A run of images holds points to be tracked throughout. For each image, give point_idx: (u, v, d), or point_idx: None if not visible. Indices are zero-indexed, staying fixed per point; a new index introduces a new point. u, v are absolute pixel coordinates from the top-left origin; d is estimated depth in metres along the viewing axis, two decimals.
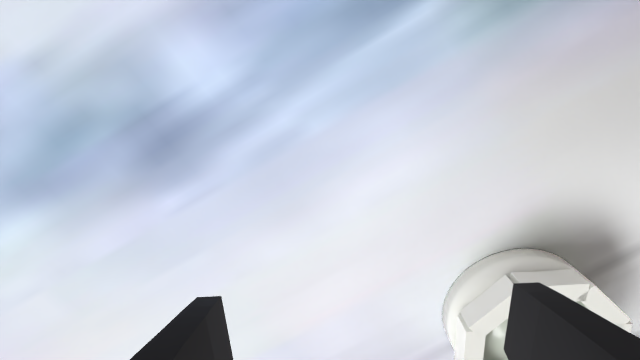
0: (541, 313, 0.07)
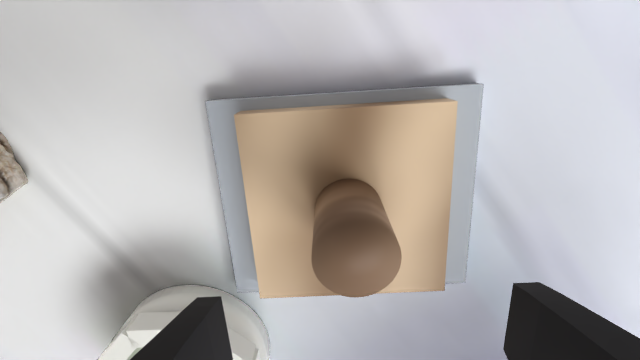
0: (541, 313, 0.07)
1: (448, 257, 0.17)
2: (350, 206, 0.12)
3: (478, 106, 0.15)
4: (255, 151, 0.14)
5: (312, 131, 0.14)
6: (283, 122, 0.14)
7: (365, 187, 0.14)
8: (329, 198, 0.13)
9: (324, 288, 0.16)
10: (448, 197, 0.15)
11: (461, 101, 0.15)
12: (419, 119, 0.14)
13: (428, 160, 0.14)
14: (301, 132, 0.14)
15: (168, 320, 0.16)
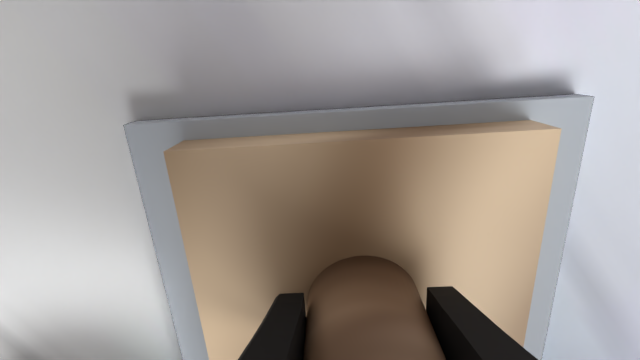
0: (442, 317, 0.07)
1: None
2: (375, 348, 0.06)
3: (581, 133, 0.09)
4: (204, 212, 0.08)
5: (302, 179, 0.08)
6: (251, 164, 0.08)
7: (395, 278, 0.08)
8: (332, 307, 0.07)
9: None
10: (530, 285, 0.09)
11: (553, 125, 0.09)
12: (490, 160, 0.08)
13: (501, 227, 0.08)
14: (283, 181, 0.08)
15: None
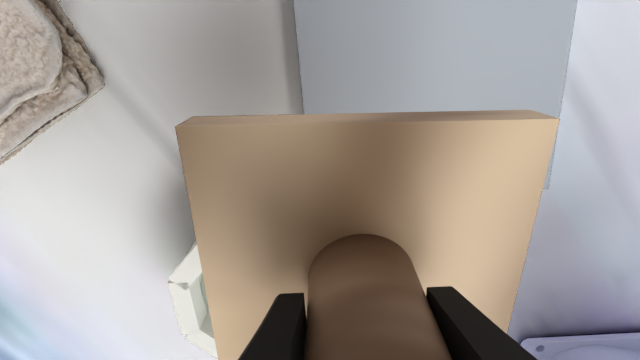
0: (442, 317, 0.07)
1: None
2: (377, 317, 0.06)
3: None
4: (213, 187, 0.09)
5: (309, 159, 0.08)
6: (261, 142, 0.08)
7: (394, 256, 0.08)
8: (335, 280, 0.08)
9: None
10: (519, 266, 0.09)
11: None
12: (491, 146, 0.08)
13: (496, 211, 0.09)
14: (291, 160, 0.08)
15: None
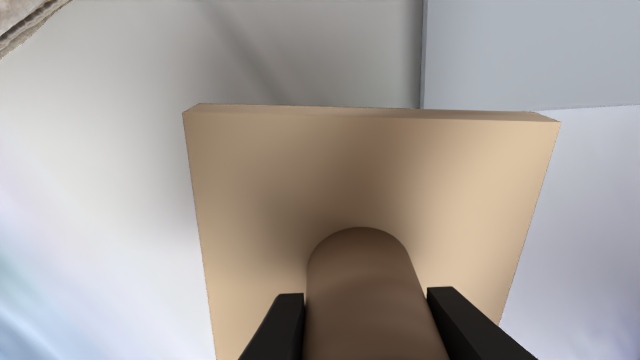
0: (442, 317, 0.07)
1: None
2: (375, 307, 0.06)
3: None
4: (217, 175, 0.09)
5: (314, 151, 0.08)
6: (267, 132, 0.08)
7: (393, 250, 0.08)
8: (336, 271, 0.08)
9: None
10: (513, 264, 0.10)
11: None
12: (492, 146, 0.08)
13: (494, 210, 0.09)
14: (295, 151, 0.08)
15: None
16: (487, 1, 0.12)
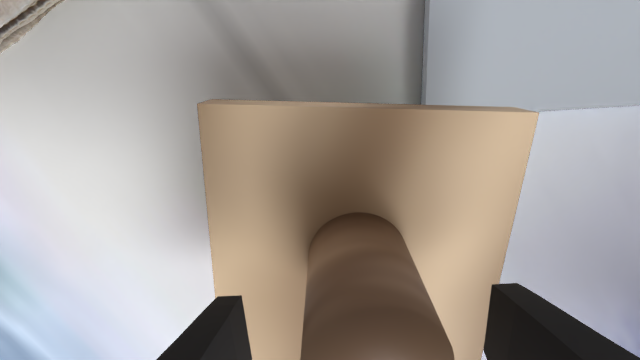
0: (516, 314, 0.07)
1: None
2: (372, 271, 0.07)
3: None
4: (227, 162, 0.09)
5: (315, 139, 0.09)
6: (273, 121, 0.09)
7: (388, 231, 0.09)
8: (335, 247, 0.08)
9: None
10: (503, 250, 0.10)
11: None
12: (478, 135, 0.09)
13: (482, 196, 0.10)
14: (299, 139, 0.09)
15: None
16: (490, 0, 0.11)
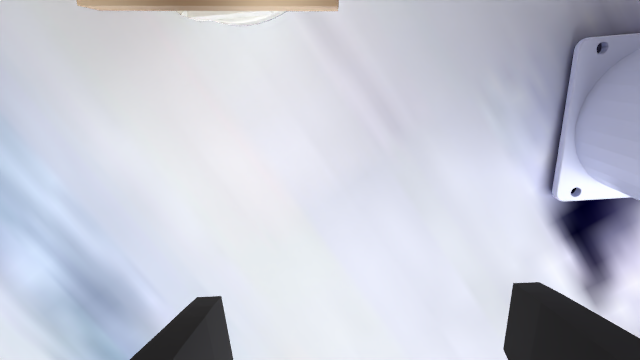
0: (541, 313, 0.07)
1: None
2: None
3: None
4: None
5: None
6: None
7: None
8: None
9: None
10: None
11: None
12: None
13: None
14: None
15: None
16: None
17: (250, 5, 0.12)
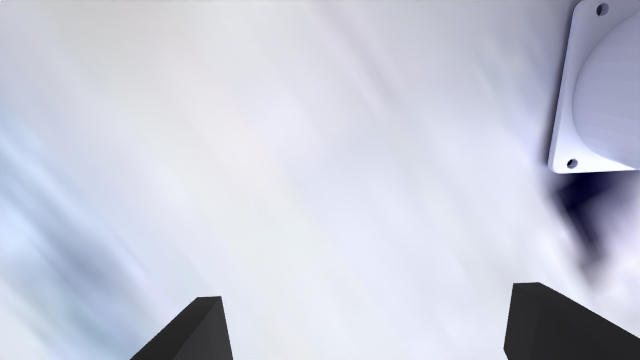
0: (541, 313, 0.07)
1: None
2: None
3: None
4: None
5: None
6: None
7: None
8: None
9: None
10: None
11: None
12: None
13: None
14: None
15: None
16: None
17: None
